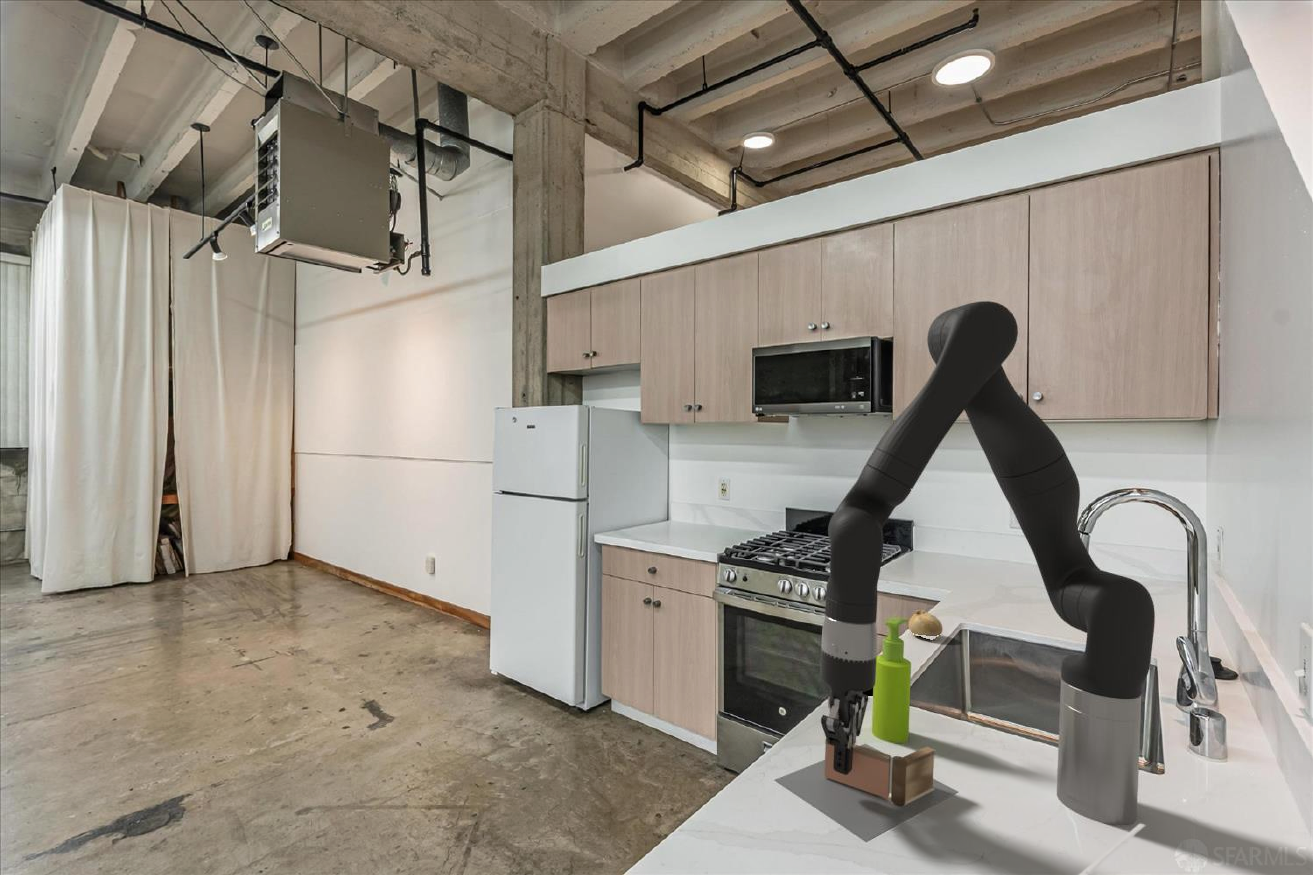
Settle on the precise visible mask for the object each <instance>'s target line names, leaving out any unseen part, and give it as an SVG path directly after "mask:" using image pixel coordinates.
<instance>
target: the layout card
mask: <svg viewBox="0 0 1313 875" xmlns="http://www.w3.org/2000/svg"><path fill="white" fill-rule="evenodd" d="M859 746H862V747H865V748H868V749H872V750H875V751H878V752H881V753H884V752H882V751H881V750H879V749H878V748H875V747H873V746H872V745H871V746H870V745H869V744H867V743H863V744H860V745H859ZM892 762H893V756H891V761H890V789H889V797H888V799H887V798H885V797H882V796H879V795H876V794H873V793H870V792H867V791H864V790H861V789H859V788H856V787H853V786H850V785H847V784H844V783H841V782H838V781H835V780H833V779H830V778H827V777H824V775H825V759H823V760H820V761H818V762H816V763H813V764H810V765H807V766H806V767H803V768H800V769H798V770H796V771H793V772H791V773H788V774H786V775H784V776H781V777H777V778H776V779H773V781H775V782H776V783H777V784H779V785H780V786H782V787H783V788H784V789H786V790H788V791H789V792H791V793H793V794H794V795H795V796H796V797H798V798H800V799H801V800H802V801H804V802H805V803H807V804H808V805H810V806H812V807H813V808H815V809H816V810H817V811H819V812H821V813H822V814H824V815H825V816H826V817H828V818H829V819H831V820H832V821H834V822H835V823H837V824H839V825H840V826H841V827H842V828H844V829H845V830H847V831H849V832H850V833H852V834H853V835H855V836H856V837H858V838H859V839H860V840H862V841H864V842H865V843H867V842H869V841H871V840H872V839H875V838H876V837H878V836H880V835H882V834H883V833H885V832H887V831H889V830H891V829H893V828H894V827H896V826H898V825H900V824H902V823H905V822H906V821H908V820H909V819H911V818H913V817H914V816H917V815H918V814H920V813H922V812H924V811H926V810H928V809H929V808H931V807H934V806H935V805H937V804H939V803H940V802H941V803H942V802H943V801H944V800H946V799H949V797H952V796H954V795H956V794H957V793H959V791H958V790H956V789H954V788H952V787H950V786H948V785H946V784H945V783H943V782H940V781H938V780H936V779H935V778H933V788H931V789H929V790H927V791H925V792H923V793H921V794H919V795H917V796H915V797H913V798H911V799H910V800H908V801H906V802H905V805H904V806H897V805H894V804H893V803H892V802H891V790H892Z"/></svg>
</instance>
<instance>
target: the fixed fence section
mask: <svg viewBox="0 0 1313 875" xmlns="http://www.w3.org/2000/svg"><path fill="white" fill-rule="evenodd" d="M935 754H936V749H934V748H932V747H929V746H925V747H922V748H920V749H918V750H916V751H914V752H911V753H909V754H906V755H905V756H899V755H895V756H892V758H893V762H892V790H891V802H892V803H893V804H894V805H897V806H904V805H905V802H906V801H908V800H910V799H911V798H913V797H915V796H917V795H919V794H921V793H923V792H925V791H927V790H929V789H931V788H933V779H934V765H935V764H934V763H935V762H934V761H935V760H934V759H935Z"/></svg>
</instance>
